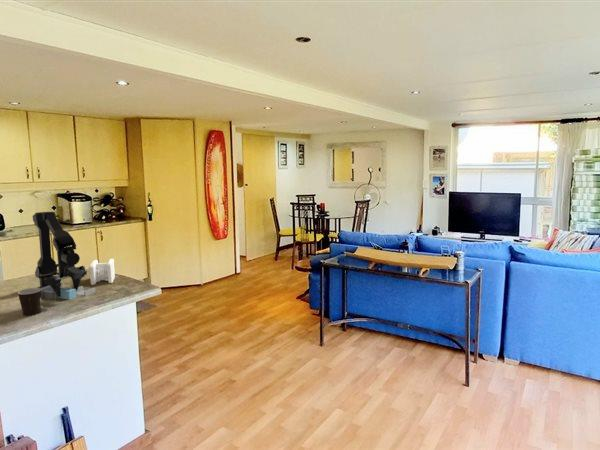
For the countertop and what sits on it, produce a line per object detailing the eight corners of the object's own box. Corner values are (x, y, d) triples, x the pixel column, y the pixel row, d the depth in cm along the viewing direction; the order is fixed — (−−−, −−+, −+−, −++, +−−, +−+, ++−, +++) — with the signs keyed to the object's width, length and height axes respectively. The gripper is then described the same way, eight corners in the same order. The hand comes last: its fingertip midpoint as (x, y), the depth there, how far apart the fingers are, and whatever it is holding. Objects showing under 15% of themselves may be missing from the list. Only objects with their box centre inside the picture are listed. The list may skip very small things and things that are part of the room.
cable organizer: (112, 285, 221) (110, 264, 219) (89, 287, 218) (88, 265, 216) (115, 277, 235) (113, 257, 233) (94, 279, 232) (93, 258, 230)
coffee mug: (27, 309, 186) (24, 288, 184) (47, 309, 187) (45, 287, 185) (11, 320, 174) (8, 296, 173) (33, 319, 175) (30, 296, 174)
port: (36, 300, 198) (34, 288, 198) (58, 292, 210) (57, 281, 209) (52, 302, 195) (51, 291, 194) (74, 294, 206) (73, 284, 205)
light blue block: (60, 300, 199) (59, 288, 198) (67, 297, 202) (66, 286, 201) (69, 301, 197) (68, 289, 196) (76, 299, 200) (75, 287, 199)
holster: (72, 295, 205) (71, 289, 205) (82, 291, 211) (81, 286, 210) (85, 297, 202) (85, 291, 202) (95, 293, 208) (95, 287, 207)
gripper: (60, 268, 185) (63, 302, 187) (94, 258, 202) (96, 289, 205) (41, 265, 189) (45, 299, 191) (76, 256, 206) (79, 287, 209)
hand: (67, 293), depth 199 cm, fingers open, 9 cm apart
